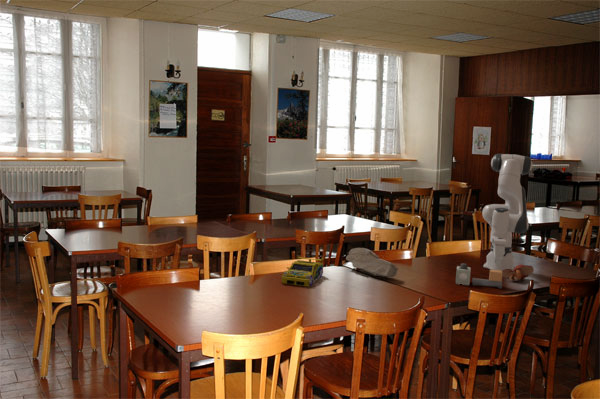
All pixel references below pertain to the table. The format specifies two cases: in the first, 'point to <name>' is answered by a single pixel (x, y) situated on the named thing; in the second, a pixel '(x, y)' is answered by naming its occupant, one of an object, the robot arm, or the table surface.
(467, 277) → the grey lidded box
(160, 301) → the table surface
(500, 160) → the robot arm
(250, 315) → the table surface
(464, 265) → the plunger
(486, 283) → the rail
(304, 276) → the toy car
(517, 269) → the figurine
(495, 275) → the carriage
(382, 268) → the stone block
